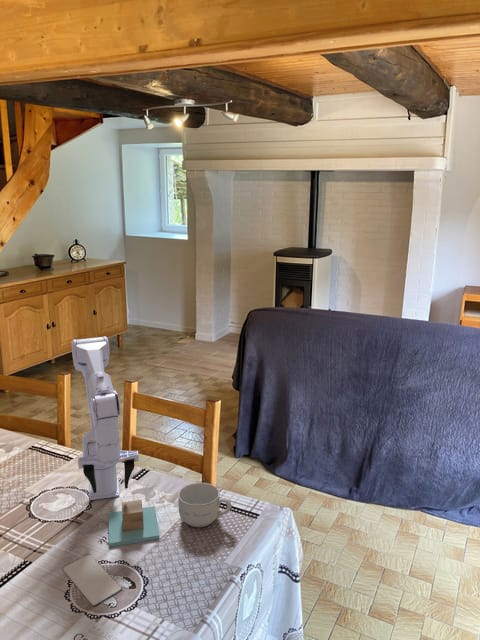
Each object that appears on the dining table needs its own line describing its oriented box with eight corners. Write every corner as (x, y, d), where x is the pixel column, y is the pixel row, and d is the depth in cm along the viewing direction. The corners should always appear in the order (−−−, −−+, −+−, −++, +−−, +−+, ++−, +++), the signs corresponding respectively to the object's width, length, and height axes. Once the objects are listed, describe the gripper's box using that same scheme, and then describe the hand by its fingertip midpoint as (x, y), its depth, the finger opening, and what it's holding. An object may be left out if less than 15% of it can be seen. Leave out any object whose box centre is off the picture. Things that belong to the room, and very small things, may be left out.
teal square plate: (108, 516, 134) (108, 512, 134) (154, 509, 137) (154, 506, 137) (109, 546, 123) (109, 543, 122) (159, 538, 126) (159, 535, 125)
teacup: (170, 524, 131) (169, 497, 129) (193, 502, 140) (192, 476, 138) (217, 542, 125) (217, 514, 122) (238, 517, 134) (238, 490, 132)
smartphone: (93, 607, 105) (61, 568, 116) (94, 609, 105) (61, 570, 116) (123, 589, 110) (89, 553, 120) (123, 591, 110) (89, 555, 120)
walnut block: (122, 519, 131) (121, 502, 130) (142, 516, 132) (141, 499, 131) (123, 531, 126) (122, 514, 125) (143, 528, 128) (142, 511, 126)
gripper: (76, 451, 121) (80, 501, 124) (138, 444, 124) (140, 493, 128) (77, 437, 127) (81, 485, 131) (136, 431, 131) (138, 478, 134)
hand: (110, 488), depth 130 cm, fingers open, 7 cm apart
